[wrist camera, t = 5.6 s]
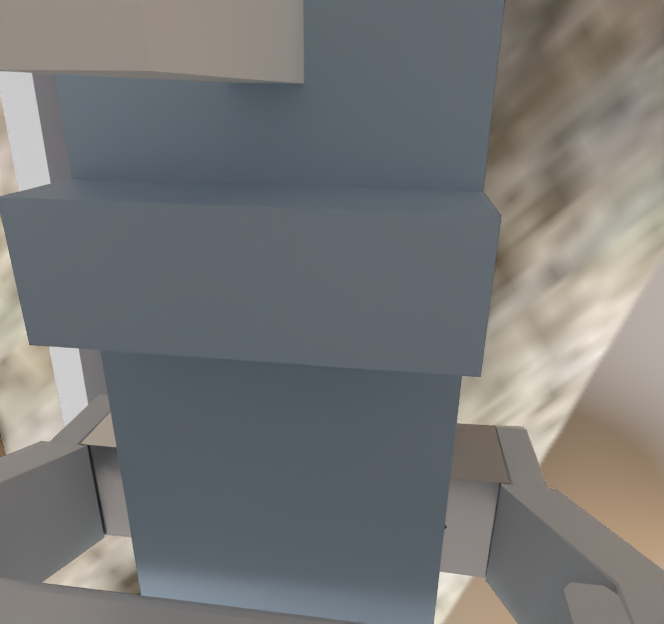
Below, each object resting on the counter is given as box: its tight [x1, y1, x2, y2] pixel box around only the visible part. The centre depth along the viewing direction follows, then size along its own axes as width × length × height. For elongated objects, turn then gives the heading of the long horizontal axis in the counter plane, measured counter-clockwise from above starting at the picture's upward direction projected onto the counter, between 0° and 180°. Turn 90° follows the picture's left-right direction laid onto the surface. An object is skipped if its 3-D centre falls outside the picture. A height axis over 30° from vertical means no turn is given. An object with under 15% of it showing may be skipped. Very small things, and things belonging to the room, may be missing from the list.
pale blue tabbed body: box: [0, 0, 505, 624], centre depth 8 cm, size 20×4×8 cm, turn 0°
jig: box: [0, 71, 108, 428], centre depth 26 cm, size 22×11×3 cm, turn 179°
